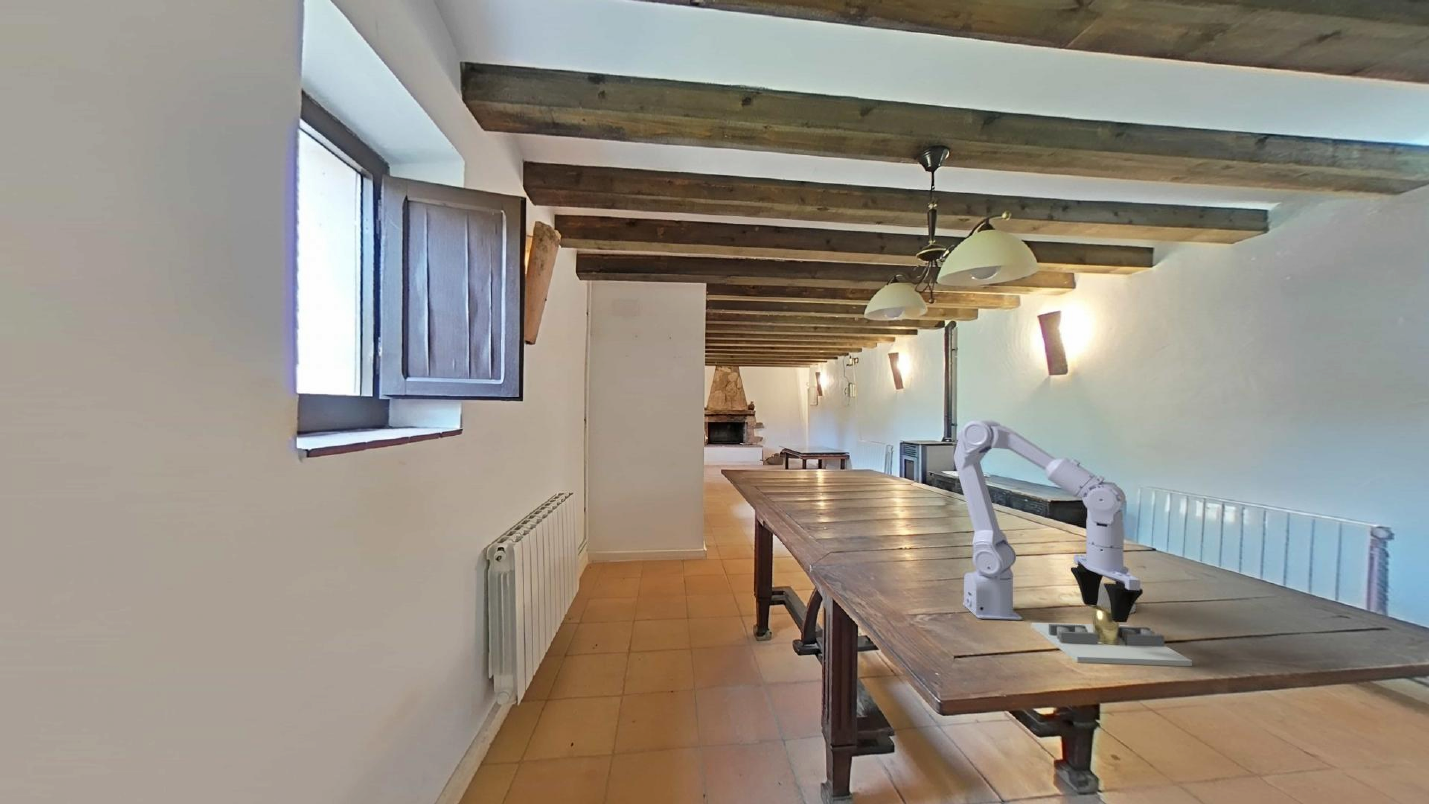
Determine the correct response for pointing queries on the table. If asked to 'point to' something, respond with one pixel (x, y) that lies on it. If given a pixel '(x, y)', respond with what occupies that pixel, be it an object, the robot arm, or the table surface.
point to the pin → (1105, 625)
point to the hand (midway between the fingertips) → (1104, 612)
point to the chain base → (1131, 649)
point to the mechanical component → (1106, 598)
